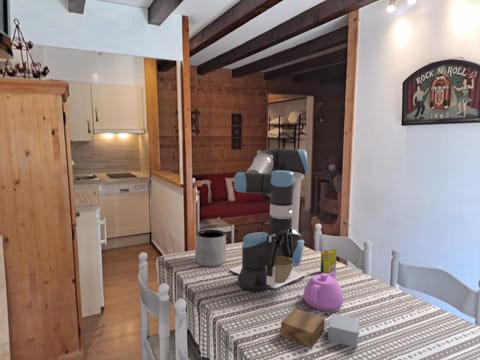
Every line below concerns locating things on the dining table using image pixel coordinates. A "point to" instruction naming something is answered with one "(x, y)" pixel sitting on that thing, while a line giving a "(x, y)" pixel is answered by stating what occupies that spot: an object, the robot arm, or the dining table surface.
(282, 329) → the walnut block
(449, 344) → the dining table surface
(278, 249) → the robot arm
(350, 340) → the slate block
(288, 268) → the tan cup
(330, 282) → the teapot
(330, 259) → the crayon box
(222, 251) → the planter
